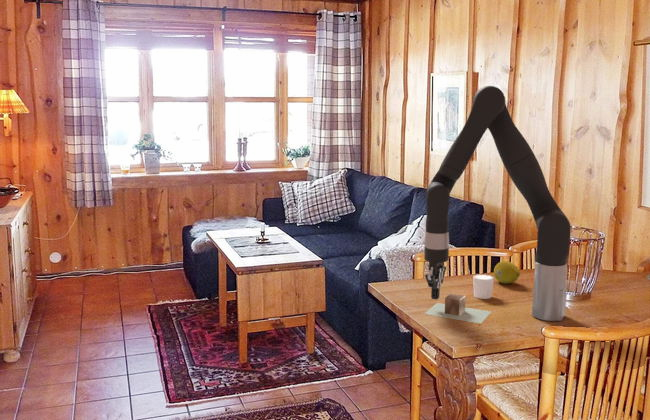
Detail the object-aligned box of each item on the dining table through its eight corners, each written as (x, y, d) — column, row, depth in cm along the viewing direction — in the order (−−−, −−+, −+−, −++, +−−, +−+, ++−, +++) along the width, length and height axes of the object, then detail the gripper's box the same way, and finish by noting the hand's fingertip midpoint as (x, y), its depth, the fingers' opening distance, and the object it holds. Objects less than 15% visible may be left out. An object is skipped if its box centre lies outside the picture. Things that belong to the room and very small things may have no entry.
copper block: (449, 308, 215) (465, 311, 213) (444, 313, 211) (460, 315, 208) (450, 293, 214) (465, 295, 212) (445, 297, 210) (460, 300, 207)
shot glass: (493, 300, 224) (494, 280, 222) (472, 299, 225) (473, 279, 224) (492, 294, 230) (493, 274, 229) (472, 293, 232) (472, 273, 230)
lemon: (488, 280, 246) (489, 259, 245) (507, 278, 249) (508, 257, 247) (505, 288, 236) (506, 266, 235) (524, 286, 238) (525, 264, 237)
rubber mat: (491, 312, 212) (491, 311, 212) (480, 324, 202) (480, 323, 202) (437, 303, 221) (437, 302, 221) (423, 314, 211) (423, 313, 210)
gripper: (440, 251, 204) (439, 306, 207) (455, 242, 215) (453, 294, 218) (417, 248, 207) (416, 302, 211) (432, 239, 219) (431, 291, 222)
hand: (435, 298), depth 214 cm, fingers closed
